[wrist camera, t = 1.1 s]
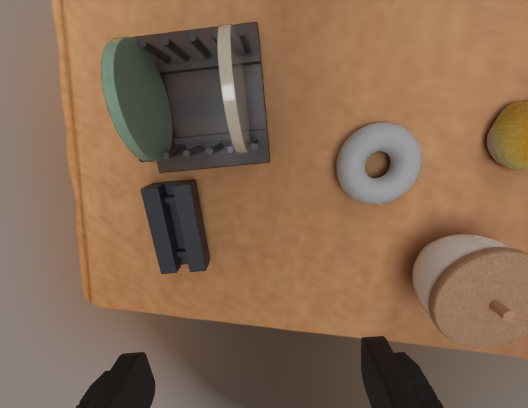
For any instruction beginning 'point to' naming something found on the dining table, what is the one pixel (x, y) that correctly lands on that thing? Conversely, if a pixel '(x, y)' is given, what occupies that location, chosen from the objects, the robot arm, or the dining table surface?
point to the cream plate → (233, 88)
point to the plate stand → (176, 225)
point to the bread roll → (510, 137)
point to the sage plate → (136, 99)
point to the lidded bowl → (473, 289)
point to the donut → (401, 163)
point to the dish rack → (207, 98)
